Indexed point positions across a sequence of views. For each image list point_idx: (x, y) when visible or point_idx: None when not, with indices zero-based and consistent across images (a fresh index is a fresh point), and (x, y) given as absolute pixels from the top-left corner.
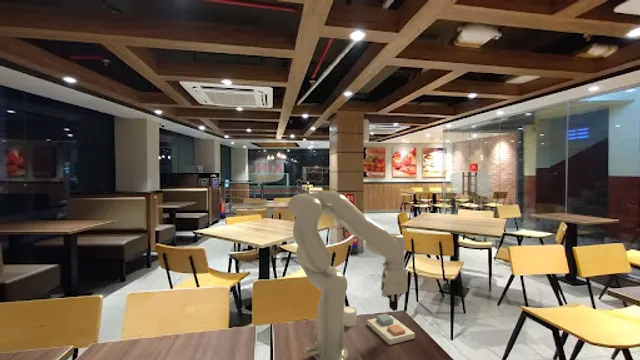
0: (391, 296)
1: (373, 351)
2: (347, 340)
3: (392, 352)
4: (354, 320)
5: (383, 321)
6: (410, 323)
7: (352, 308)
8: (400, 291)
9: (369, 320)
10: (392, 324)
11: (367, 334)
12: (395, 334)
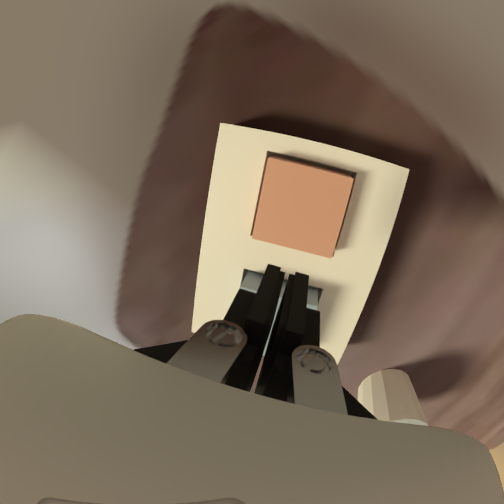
0: (344, 410)
1: (475, 195)
2: (478, 317)
3: (417, 128)
4: (390, 391)
5: (316, 303)
6: (132, 247)
7: None
8: (163, 407)
9: None
10: (258, 268)
11: (389, 306)
12: (347, 176)
